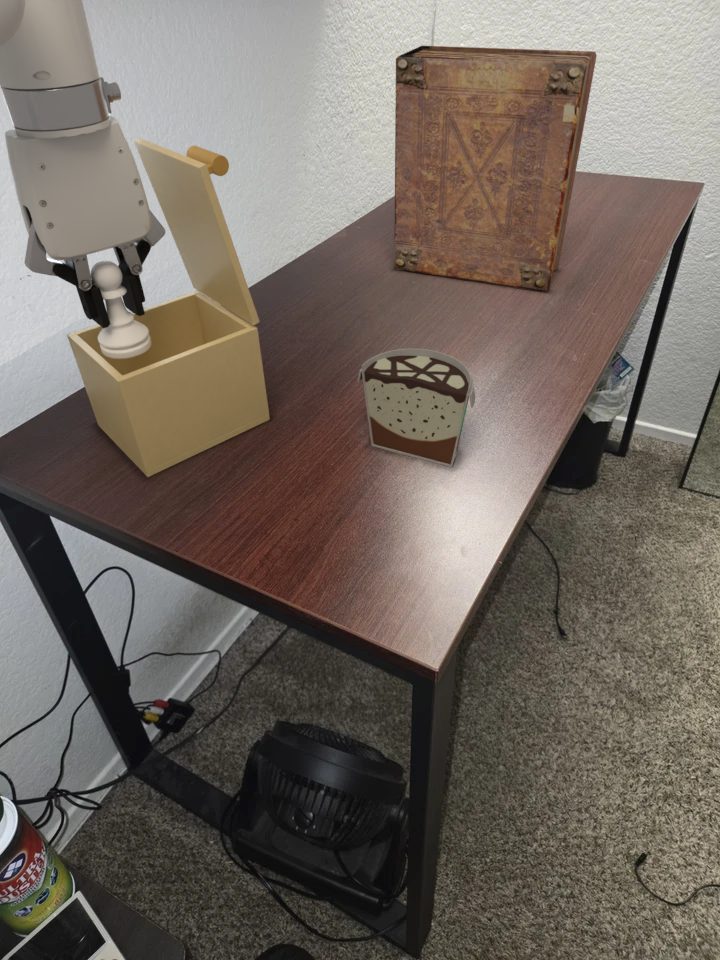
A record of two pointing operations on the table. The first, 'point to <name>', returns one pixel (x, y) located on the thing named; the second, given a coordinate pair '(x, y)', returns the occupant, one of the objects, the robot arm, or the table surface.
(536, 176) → the book
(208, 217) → the lid
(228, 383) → the light wooden open box
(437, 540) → the table surface
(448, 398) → the food container
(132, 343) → the chess pawn
